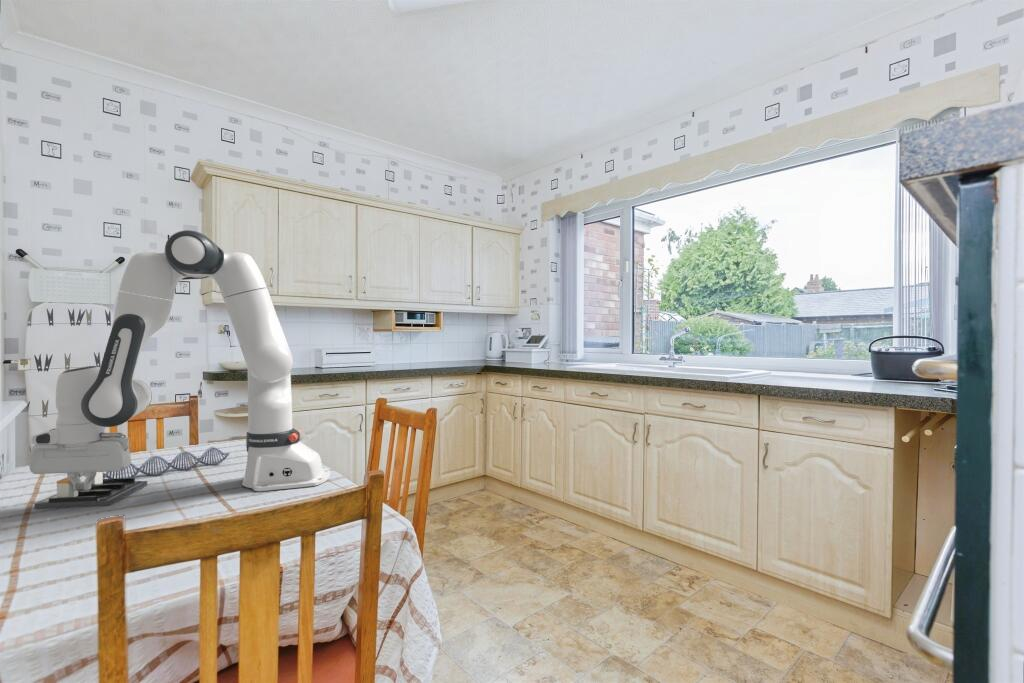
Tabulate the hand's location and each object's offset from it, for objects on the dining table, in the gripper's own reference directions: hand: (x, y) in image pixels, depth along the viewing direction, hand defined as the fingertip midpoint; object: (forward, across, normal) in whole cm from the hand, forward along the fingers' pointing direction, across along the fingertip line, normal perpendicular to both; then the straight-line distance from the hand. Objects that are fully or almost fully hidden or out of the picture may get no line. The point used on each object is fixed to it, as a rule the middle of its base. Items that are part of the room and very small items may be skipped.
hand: (82, 490), depth 118 cm
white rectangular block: (+2, +4, -5) cm, 7 cm away
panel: (+3, +1, -5) cm, 6 cm away
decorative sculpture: (+4, -7, -24) cm, 26 cm away
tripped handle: (+2, +3, 0) cm, 4 cm away
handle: (+2, +4, -10) cm, 11 cm away
